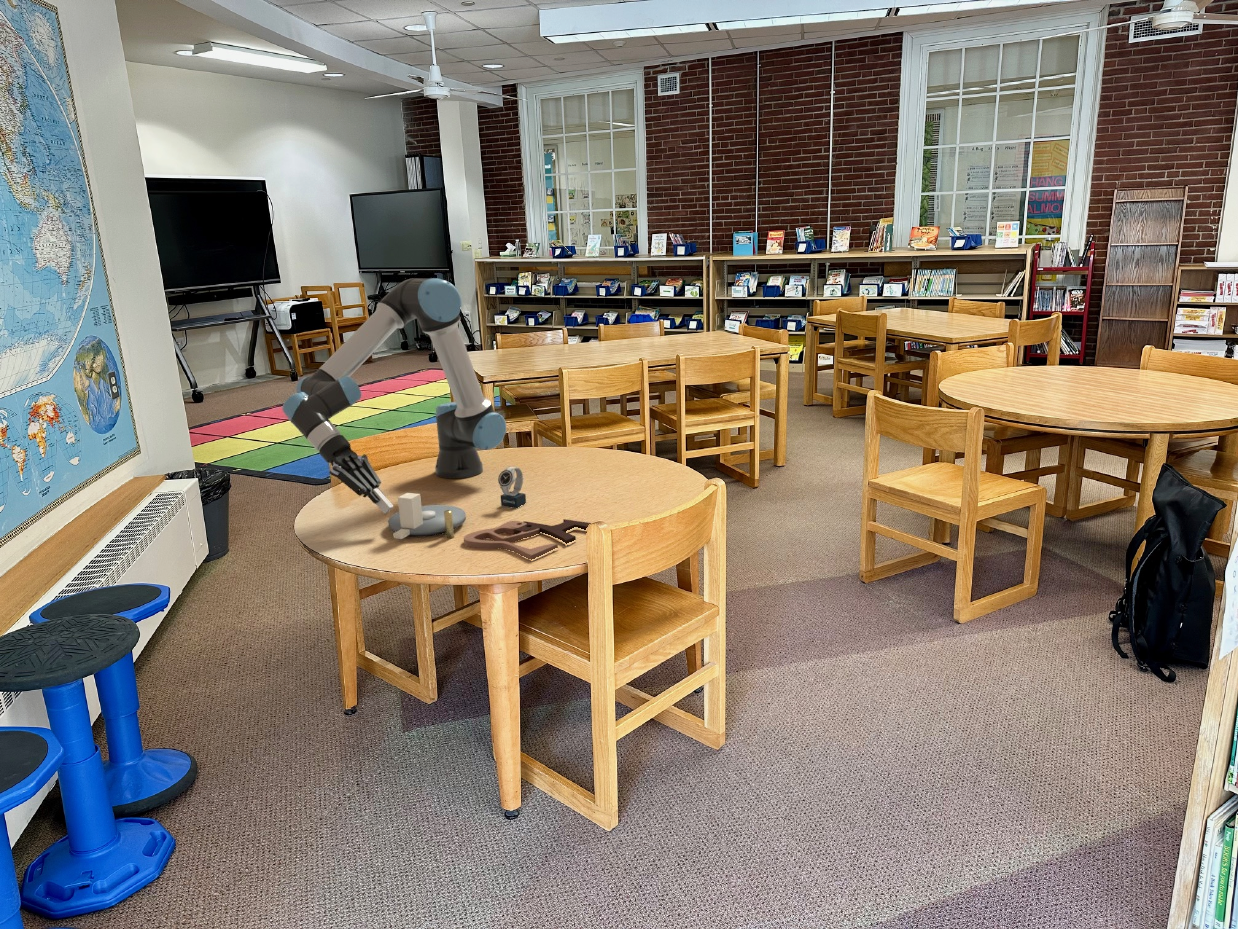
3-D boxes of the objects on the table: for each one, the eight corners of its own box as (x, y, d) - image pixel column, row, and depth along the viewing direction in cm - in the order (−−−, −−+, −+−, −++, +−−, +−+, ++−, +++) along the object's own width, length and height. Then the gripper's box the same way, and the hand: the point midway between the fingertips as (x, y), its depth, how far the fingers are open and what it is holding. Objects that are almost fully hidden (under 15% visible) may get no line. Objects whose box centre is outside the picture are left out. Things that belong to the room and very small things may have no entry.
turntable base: (424, 513, 233) (423, 510, 232) (470, 521, 225) (470, 517, 225) (383, 532, 219) (383, 528, 219) (432, 540, 212) (432, 536, 212)
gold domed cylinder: (449, 535, 215) (447, 509, 213) (455, 536, 214) (453, 510, 212) (444, 538, 213) (442, 511, 211) (450, 539, 212) (448, 512, 211)
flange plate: (416, 506, 234) (413, 474, 232) (479, 512, 227) (477, 480, 225) (364, 534, 213) (360, 500, 211) (432, 542, 206) (429, 506, 204)
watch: (496, 507, 236) (494, 470, 233) (514, 500, 243) (511, 463, 240) (513, 510, 233) (510, 472, 230) (529, 502, 240) (527, 465, 237)
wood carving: (603, 532, 215) (537, 515, 230) (602, 524, 215) (537, 508, 229) (525, 566, 195) (458, 545, 209) (524, 558, 194) (457, 537, 209)
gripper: (339, 446, 226) (397, 511, 224) (305, 458, 214) (365, 526, 212) (353, 428, 222) (411, 493, 221) (319, 439, 211) (380, 509, 209)
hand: (389, 510), depth 217 cm, fingers closed
